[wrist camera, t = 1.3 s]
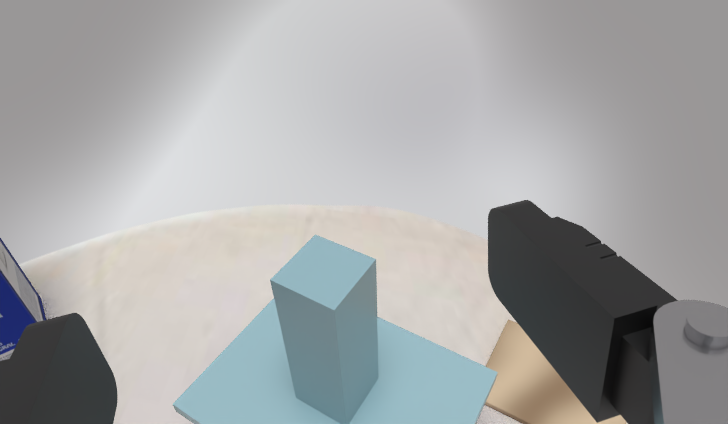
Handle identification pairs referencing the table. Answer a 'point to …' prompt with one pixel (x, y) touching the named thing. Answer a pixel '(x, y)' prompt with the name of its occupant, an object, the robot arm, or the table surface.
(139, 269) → the table surface
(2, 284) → the milk carton
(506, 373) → the mat
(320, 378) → the lid
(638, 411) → the robot arm
